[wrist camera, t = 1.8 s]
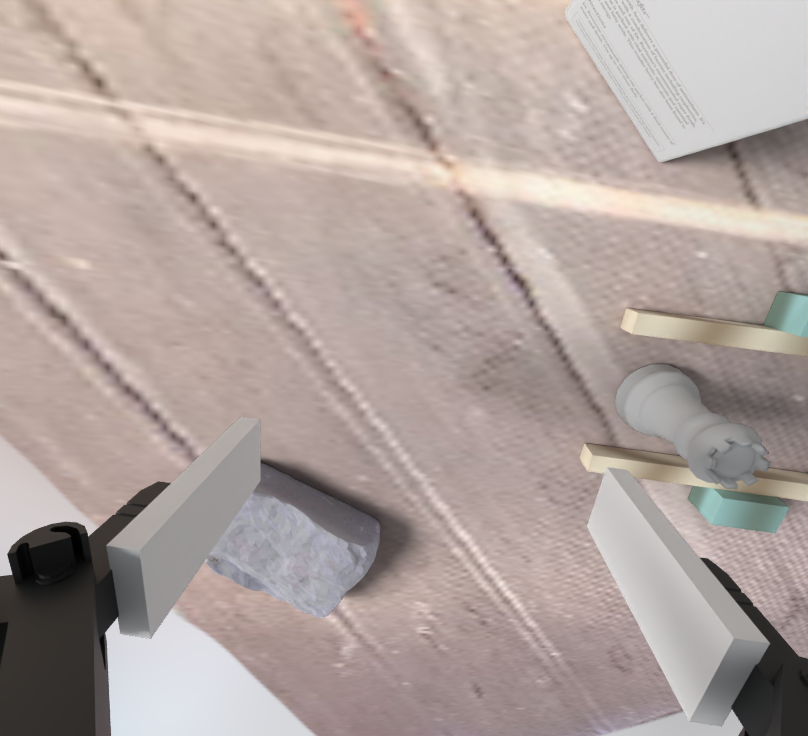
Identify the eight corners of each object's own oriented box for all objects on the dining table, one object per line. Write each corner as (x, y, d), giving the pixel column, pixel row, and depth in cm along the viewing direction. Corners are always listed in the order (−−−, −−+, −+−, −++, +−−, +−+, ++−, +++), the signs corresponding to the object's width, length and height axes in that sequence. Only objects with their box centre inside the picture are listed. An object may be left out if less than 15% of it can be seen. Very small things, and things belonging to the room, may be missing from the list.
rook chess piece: (601, 417, 26) (669, 495, 19) (628, 354, 25) (714, 411, 17) (667, 432, 26) (762, 516, 19) (698, 369, 25) (816, 433, 17)
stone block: (344, 578, 35) (393, 515, 30) (324, 636, 31) (377, 574, 26) (220, 516, 34) (249, 441, 29) (183, 567, 30) (209, 489, 25)
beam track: (571, 483, 28) (584, 506, 26) (636, 273, 23) (660, 279, 21) (864, 523, 27) (904, 551, 25) (994, 318, 22) (1060, 329, 20)
